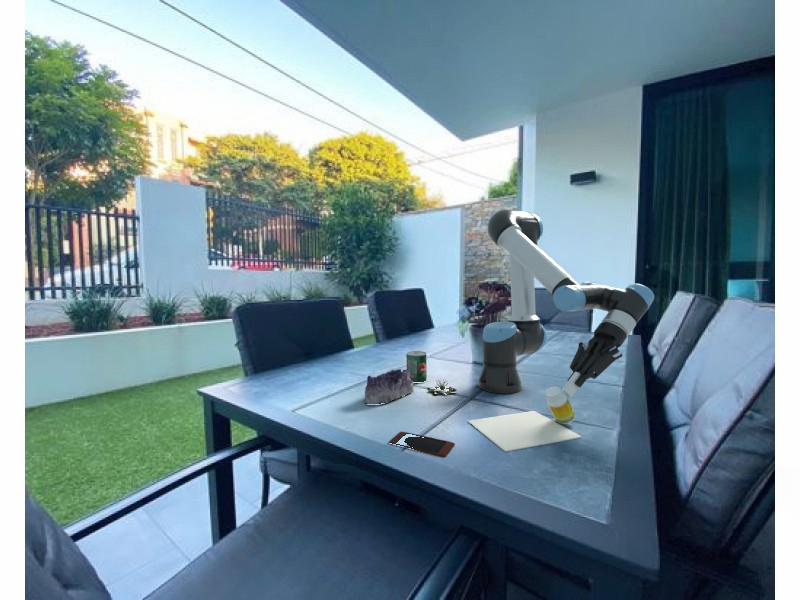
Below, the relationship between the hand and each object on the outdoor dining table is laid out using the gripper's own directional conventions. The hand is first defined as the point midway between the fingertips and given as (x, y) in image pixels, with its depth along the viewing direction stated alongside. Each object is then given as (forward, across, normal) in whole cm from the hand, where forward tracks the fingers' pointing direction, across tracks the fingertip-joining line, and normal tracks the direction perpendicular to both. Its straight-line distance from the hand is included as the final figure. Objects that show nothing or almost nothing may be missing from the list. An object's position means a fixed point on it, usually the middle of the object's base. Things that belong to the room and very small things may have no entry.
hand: (566, 393), depth 95 cm
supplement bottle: (+4, +1, -6) cm, 8 cm away
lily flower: (+20, +38, +8) cm, 43 cm away
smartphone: (+36, +3, +22) cm, 42 cm away
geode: (+34, +38, +21) cm, 55 cm away
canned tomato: (+22, +53, +11) cm, 58 cm away
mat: (+15, +2, +3) cm, 16 cm away
